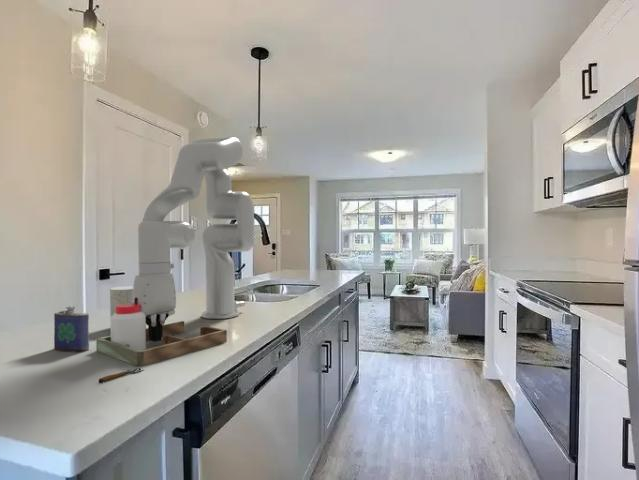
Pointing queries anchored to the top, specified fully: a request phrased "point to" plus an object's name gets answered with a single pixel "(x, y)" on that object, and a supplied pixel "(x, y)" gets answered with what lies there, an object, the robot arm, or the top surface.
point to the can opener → (118, 375)
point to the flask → (71, 331)
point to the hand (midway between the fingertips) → (155, 340)
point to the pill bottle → (129, 326)
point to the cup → (120, 297)
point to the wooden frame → (167, 350)
